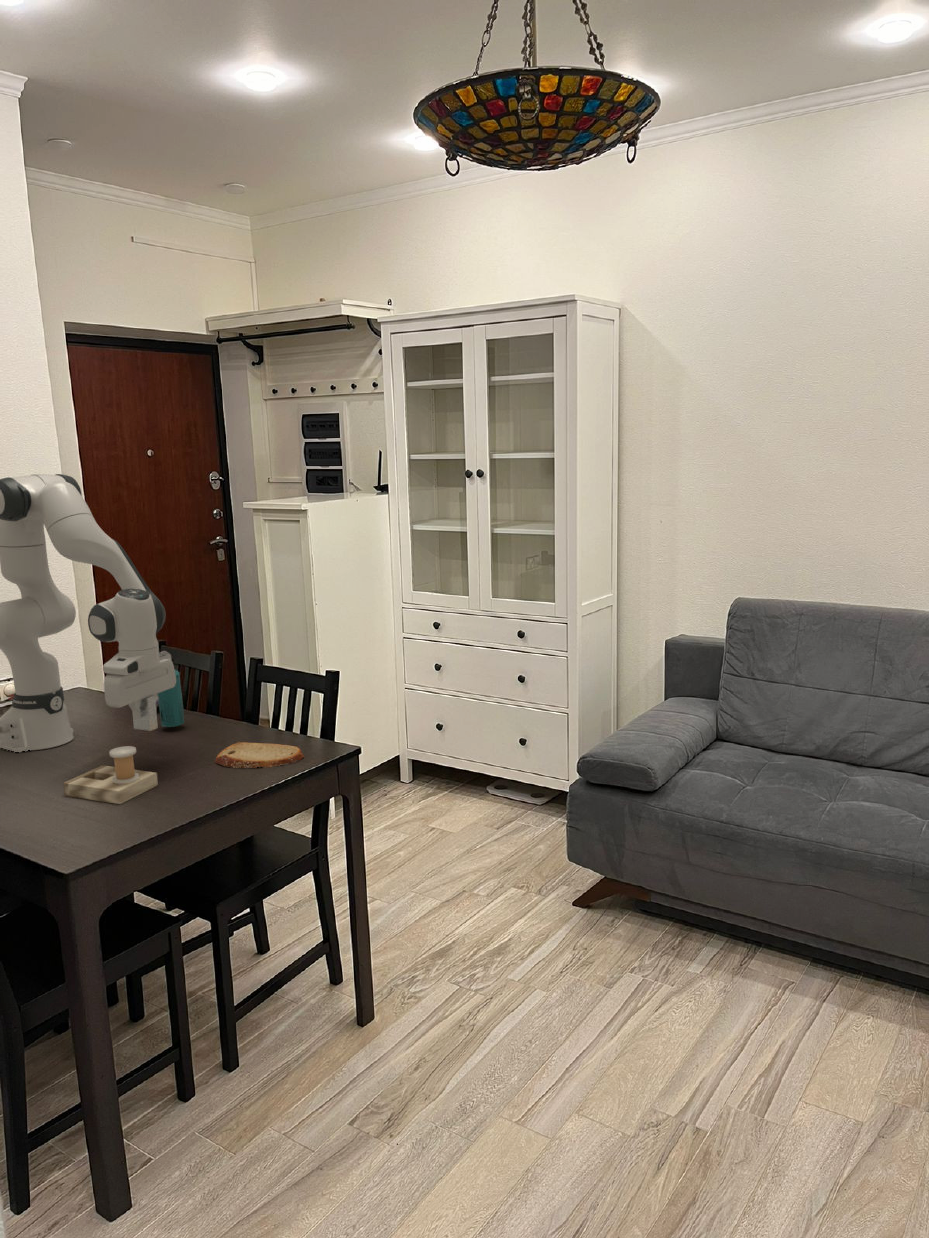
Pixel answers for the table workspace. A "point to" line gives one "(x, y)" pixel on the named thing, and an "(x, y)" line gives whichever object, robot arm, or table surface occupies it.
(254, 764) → the slice of bread
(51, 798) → the table surface
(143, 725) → the metal tab
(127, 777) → the bobbin
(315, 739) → the table surface
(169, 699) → the beverage bottle
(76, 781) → the slot board
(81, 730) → the table surface
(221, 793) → the table surface
